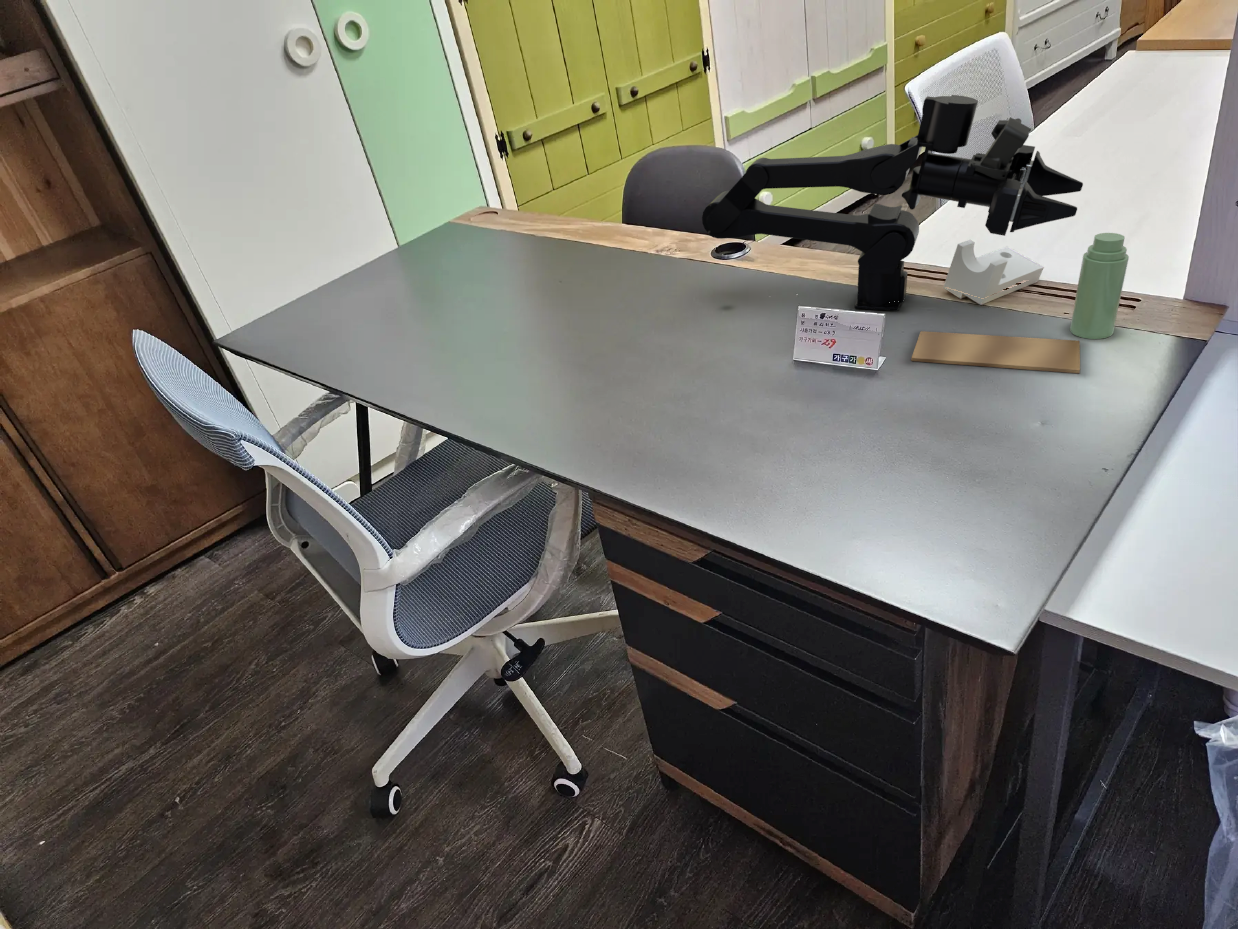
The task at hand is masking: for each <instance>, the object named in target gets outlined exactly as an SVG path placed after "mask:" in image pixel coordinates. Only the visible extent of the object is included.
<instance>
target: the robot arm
mask: <svg viewBox="0 0 1238 929" xmlns="http://www.w3.org/2000/svg"><path fill="white" fill-rule="evenodd" d="M978 104H979V100H978V99H976V98H973V97H969V96H964V95H959V94H951V96H950V95H941V96H940V95H939V96H930V95H929V96H926V97H925V98H924V100H923V104H922V108H921V111H922V112H921V120H920V123H919V124H920V125H919V129H918V133H917V135H915V136H911V138H909V139H907V140H905V141H904V142H902V143H900V144H895V143H889V144H888V143H887V144H883V145H879V146H875V147H870V148H866V149H863V150H859V151H857V152H854V153H851V154H846V155H833V156H830V155H829V156H810V157H809V156H808V157H787V158H767V157H760V158H757V159H755V161H753V162H752V163H751V164H750V165H749V166H748V167H747V169H746V170H745V173H744V174H743V175H742V176H741V177H740V178H739V180H737V182H736V183H735V184H734V185H733V186H732V188H730V189H729V190H725V191H722V192H721V193H719V194H718V195H717V196H715V198H714V199H713V200H712V201H711V202H710V203H709V204H708V205H706V207H705V208H704V209H703V212H702V216H701V223H702V226H703V229H704V230H705V231H706V232H707V234H708V235H709V236H710V237H711V238H714V239H720V240H722V239H739V238H740V239H741V238H744V237H749V236H750V237H751V236H754V235H765V236H772V237H773V236H774V237H782V238H788V239H797V240H803V241H812V242H820V243H827V244H835V245H842V246H849V247H852V248H854V249H856V250H858V251H860V252H861V253H860V255H859V257H858V259H857V264H858V269H857V271H858V273H857V298H856V302H855V303H854V309H856V310H857V309H858V310H875V311H877V310H878V311H893V312H894V311H898V310H899V309H900V306H901V305H902V304H903V303H904V302H905V299H906V297H907V286H908V271H906V270H905V260H904V259H906V258H907V257H908V256H909V255H911V253H912V252H913V250H914V248H915V245H916V242H917V239H918V236H919V234H920V224H919V222H918V220H917V218H916V217H915V215H914V214H913V213H911V212H910V211H907V210H902V209H903V206H902V205H897V206H887V205H884V204H880V203H874V204H873V205H872V207H871V209H870V210H869V213H865V214H858V215H857V214H856V215H855V214H846V213H840V212H831V211H821V210H815V209H814V210H813V209H805V208H799V207H798V208H797V207H788V206H781V205H780V206H779V205H773V204H766V203H764V202H762V201H761V200H759V199H758V198H757V197H758V195H759V194H760V193H761V192H762V191H763V190H769V189H796V188H797V189H799V188H800V189H802V188H803V189H804V188H834V187H835V188H836V187H840V188H847V189H850V190H853V191H857V192H859V193H865V194H871V195H878V196H887V195H891V194H894V193H896V192H897V191H898V190H899V189H901V187H902V186H903V184H904V182H906V179H907V176H908V174H909V172H910V169H911V168H912V167H913V166H914V165H915V163H917V161H918V158H919V156H920V154H921V151H922V149H923V148H924V152H923V157H922V160H921V164H920V165H919V166H916V167H914V168H913V169H912V173H911V177H910V182H909V187H908V188H906V189H905V190H903V192H902V193H901V198H903V199H904V200H905V202H906V204H907V206H908V208H909V210H914V209H916V207H917V206H918V204H919V203H920V200H921V196H923V197H926V198H933V199H939V200H945V201H952V202H957V206H956V207H957V208H961V209H965V208H966V207H967V204H969V205H973V206H980V207H986V208H988V210H987V211H988V212H987V217H986V220H985V223H984V224H985V225H984V226H985V228H986V229H987V230H988V232H989V234H992V235H998V236H1004V237H1005V236H1006V234H1007V231H1008V229H1009V226H1010V222H1011V226H1010V230H1009V233H1015V231H1018V230H1022V229H1025V228H1026V229H1027V228H1029V227H1033V226H1036V225H1042V224H1045V223H1050V222H1054V221H1055V222H1056V221H1057V220H1058V221H1059V220H1063V219H1068V218H1073V217H1075V216H1076V215H1077V211H1078V207H1077V206H1075V205H1072V204H1070V203H1067V202H1063V201H1060V200H1057V199H1054V198H1050V197H1048V196H1056V195H1064V194H1073V193H1078V192H1081V191H1082V189H1083V186H1084V183H1083V182H1082V181H1080V180H1078V179H1076V178H1073V177H1071V176H1069V175H1067V174H1065V173H1063V172H1060V171H1058V170H1055V169H1053V168H1052V167H1050V166H1048V165H1047V164H1045V161H1044V160H1043V158H1042V156H1041V152H1040V151H1039V150H1036V153H1035V149H1036V146H1034V145H1026V144H1025V143H1026V141H1027V140H1028V138H1029V136H1030V134H1029V133H1030V132H1031V131H1032V128H1031V127H1028V125H1025V124H1023V123H1022V119H1021V118H1018V117H1017V118H1013V117H1012V116H1011V117H1010V116H1009V119H1008V120H1005V119H1003V120H1002V119H1001V120H1000V119H999V120H998V122H996V124H995V126H994V127H993V129H992V131H991V133H990V134H991V136H992V137H993V141H992V143H991V145H990V147H989V148H988V150H987V151H986V152H985V153H980V152H978V153H975V154H973V155H972V157H971V158H968V157H967V158H966V157H961V156H960V157H959V156H953V155H954V154H957V153H958V150H959V148H964V147H966V146H967V145H968V143H969V142H968V141H969V138H970V134H971V130H972V126H973V124H974V123H973V122H974V118H975V114H976V111H977V108H978ZM933 152H934V153H933ZM1034 153H1035V155H1034ZM1033 155H1034V159H1033ZM1032 159H1033V160H1032ZM904 270H905V271H904ZM904 298H905V299H904ZM903 300H904V301H903ZM894 301H895V302H894ZM898 301H899V302H898ZM889 302H890V303H889Z"/></svg>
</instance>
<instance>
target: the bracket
mask: <svg viewBox="0 0 1238 929" xmlns="http://www.w3.org/2000/svg"><path fill="white" fill-rule="evenodd" d="M954 251H955V252H954V254H953V257H952V260H951V263H950V265H949V268H948V272H947V275H946V277H945V281H944V284H943V286H944V287H949V288H951V289H956V290H958V291H962V292H964V293H968V294H970V295H968V294H964V293H961V292H958V291H954V290H951V289H947V288H944V287H943V289H945V290H946V291H947V292H949V293H950V294H952V295H954V296H955V297H957V298H958V299H960V300H961V299H964V298H966V297H967V298H968V299H970V300H972V301H973V302H975V303H977V304H978V305H980V306H981V305H985V304H987V303H989V302H991V301H995V300H996V299H999V298H1001V297H1004V296H1006V295H1008V294H1011V293H1014V292H1016V291H1018V290H1021V289H1024V288H1026V287H1028V286H1031V285H1033V284H1036V283H1038V282H1039V281H1040V278H1041V275H1042V273H1043V271H1044V269H1045V266H1044V265H1042V264H1040V263H1038V262H1036V261H1034V260H1033V259H1031V258H1029V257H1027V256H1025V255H1024V254H1022V253H1020V252H1019V251H1017V250H1015V249H1013V248H1011V247H1010V246H1008V245H1006V246H1003V247H1001V248H998V249H996V250H993V251H990V252H988V253H986V254H985V253H984V254H983V255H980V256H977V257H976V255H975V241H973V240H971V239H967V240H965V241H962V242H960V243H957V245H956V247H955V250H954ZM1023 280H1029V281H1026V282H1024V283H1021V284H1019V285H1017V286H1014V287H1012V288H1009V289H1007V290H1004V291H1002V290H1003V289H1006V288H1008V287H1010V286H1012V285H1015V284H1016V283H1018V282H1021V281H1023ZM998 291H1002V292H999V293H997V292H998ZM994 293H997V294H994ZM992 294H994V295H992ZM971 295H973V296H971ZM990 295H992V296H990ZM974 296H977V297H974ZM987 296H989V297H987ZM978 297H980V298H978ZM985 297H987V298H985ZM981 298H984V299H981Z"/></svg>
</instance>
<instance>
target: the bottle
mask: <svg viewBox="0 0 1238 929" xmlns="http://www.w3.org/2000/svg"><path fill="white" fill-rule="evenodd" d="M1124 243H1125V235H1124V234H1121V233H1117V232H1101V233H1097V234H1095V235H1094V237H1093V243H1092V244H1091V245H1089V246H1088V247H1087V250H1086V252H1084V253H1083V254H1082V260H1081V266H1080V270H1079V277H1078V282H1077V286H1076V293H1075V299H1074V303H1073V304H1074V305H1073V309H1072V316H1071V322H1070V327H1069V331H1070V333H1071V334H1072V335H1074V336H1076V337H1080V338H1082V339H1088V340H1089V339H1090V340H1100V339H1101V340H1102V339H1106V338H1109V337H1111V336H1112V335H1113V334H1114V331H1115V326H1116V322H1117V317H1118V311H1119V308H1120V302H1121V297H1122V291H1123V288H1124V282H1125V279H1126V273H1127V268H1128V264H1129V259H1130V256H1129V255H1128V254H1127V252H1128V251H1127V250H1128V248H1127V247H1126V246H1124Z"/></svg>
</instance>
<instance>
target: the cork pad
mask: <svg viewBox="0 0 1238 929" xmlns="http://www.w3.org/2000/svg"><path fill="white" fill-rule="evenodd" d="M1080 343H1081V342H1080V340H1077V339H1076V340H1072V339H1057V338H1041V337H1040V338H1039V337H1025V336H1024V337H1023V336H1008V335H991V334H990V335H989V334H975V333H974V334H973V333H959V332H958V333H956V332H943V331H942V332H940V331H925V330H921V331H919V335H918V338H917V341H916V343H915V346H914V350H913V353H912V355H911V360H910V362H920V363H921V362H922V363H931V364H932V363H934V364H946V365H947V364H948V365H960V366H961V365H962V366H973V367H974V366H975V367H985V368H986V367H987V368H1000V369H1001V368H1002V369H1015V370H1027V371H1041V372H1042V371H1043V372H1055V373H1068V374H1080V372H1081V348H1080V347H1081V345H1080Z"/></svg>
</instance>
